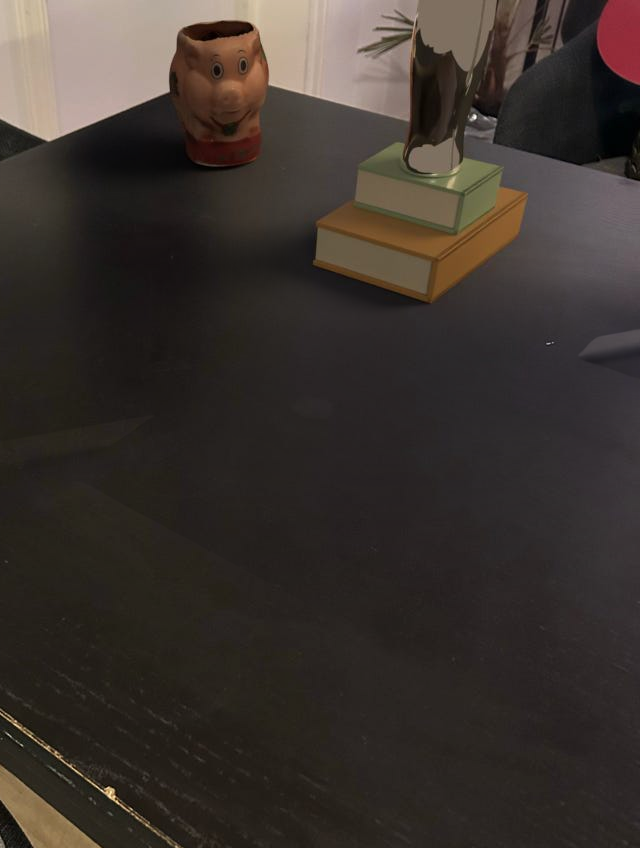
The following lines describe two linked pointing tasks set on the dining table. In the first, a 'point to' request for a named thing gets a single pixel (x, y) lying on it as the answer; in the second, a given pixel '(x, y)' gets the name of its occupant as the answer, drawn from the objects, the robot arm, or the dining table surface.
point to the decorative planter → (219, 90)
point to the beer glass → (444, 81)
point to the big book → (413, 247)
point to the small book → (427, 192)
